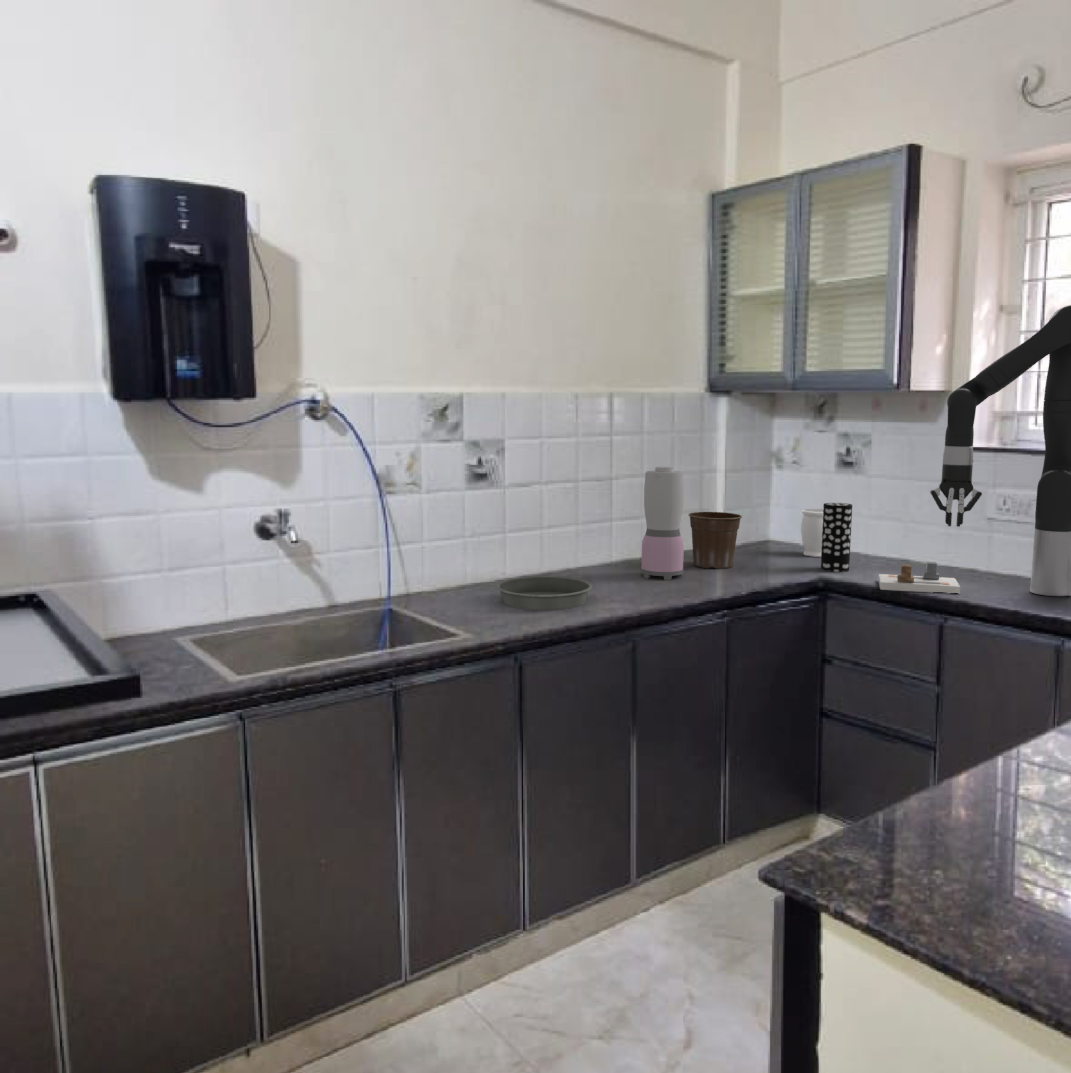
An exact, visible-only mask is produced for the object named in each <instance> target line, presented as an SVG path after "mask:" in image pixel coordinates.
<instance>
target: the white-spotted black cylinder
mask: <svg viewBox="0 0 1071 1073" xmlns="http://www.w3.org/2000/svg"><path fill="white" fill-rule="evenodd" d="M822 509H823V528H822V550H821V557H820V570H821V571H825V572H832V573H833V572H835V573H844V572H845V571H846V572H848V571H850V559H851V558H850V557H851V542H852V519H853V518H852V517H853V504H851V503H845V502H827V503H826V502H825V503H823V507H822Z"/></svg>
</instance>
